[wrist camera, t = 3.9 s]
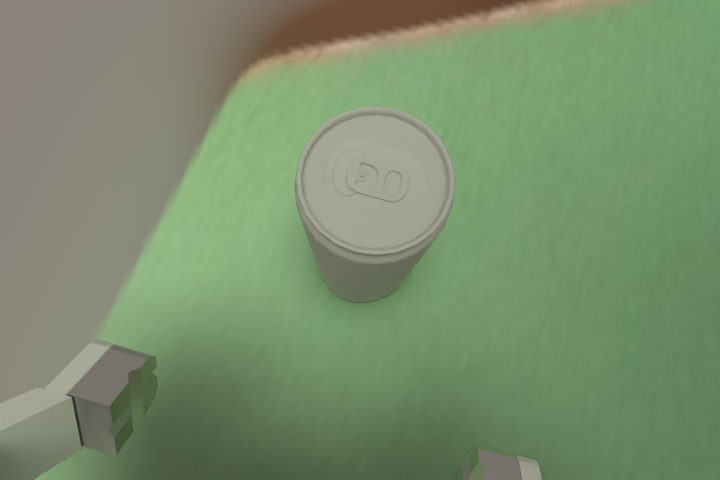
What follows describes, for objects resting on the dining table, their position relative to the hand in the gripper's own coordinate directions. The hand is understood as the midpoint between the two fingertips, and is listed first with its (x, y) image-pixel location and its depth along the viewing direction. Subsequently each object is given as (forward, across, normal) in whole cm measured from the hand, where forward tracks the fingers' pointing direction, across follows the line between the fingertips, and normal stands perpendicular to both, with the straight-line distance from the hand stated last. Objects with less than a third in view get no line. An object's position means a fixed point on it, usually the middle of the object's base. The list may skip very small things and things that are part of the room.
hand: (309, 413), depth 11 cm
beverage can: (+13, 0, +4) cm, 14 cm away
